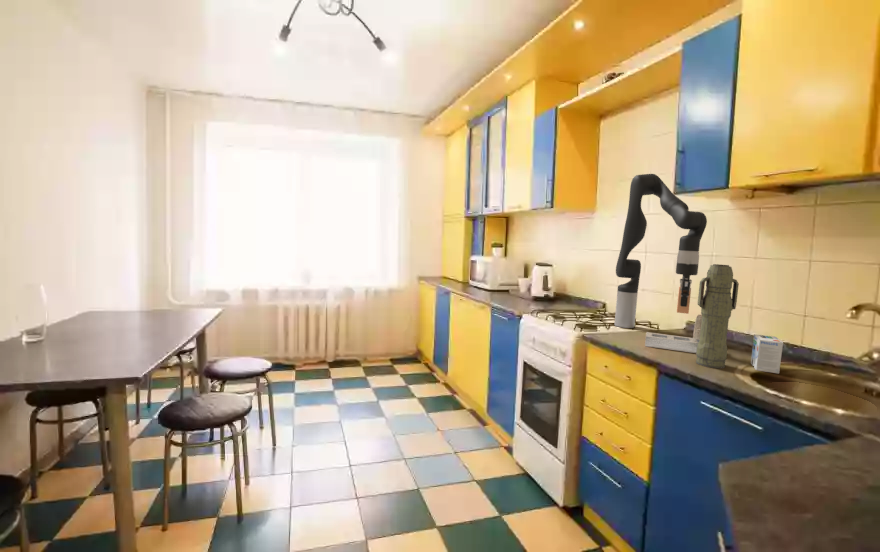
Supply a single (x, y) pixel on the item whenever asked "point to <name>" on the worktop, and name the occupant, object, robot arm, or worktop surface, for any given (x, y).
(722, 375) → the worktop surface
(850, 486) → the worktop surface
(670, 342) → the rack rail
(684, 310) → the square peg
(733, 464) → the worktop surface
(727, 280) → the thermos
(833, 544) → the worktop surface
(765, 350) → the light bulb box
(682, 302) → the robot arm
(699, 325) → the carving
